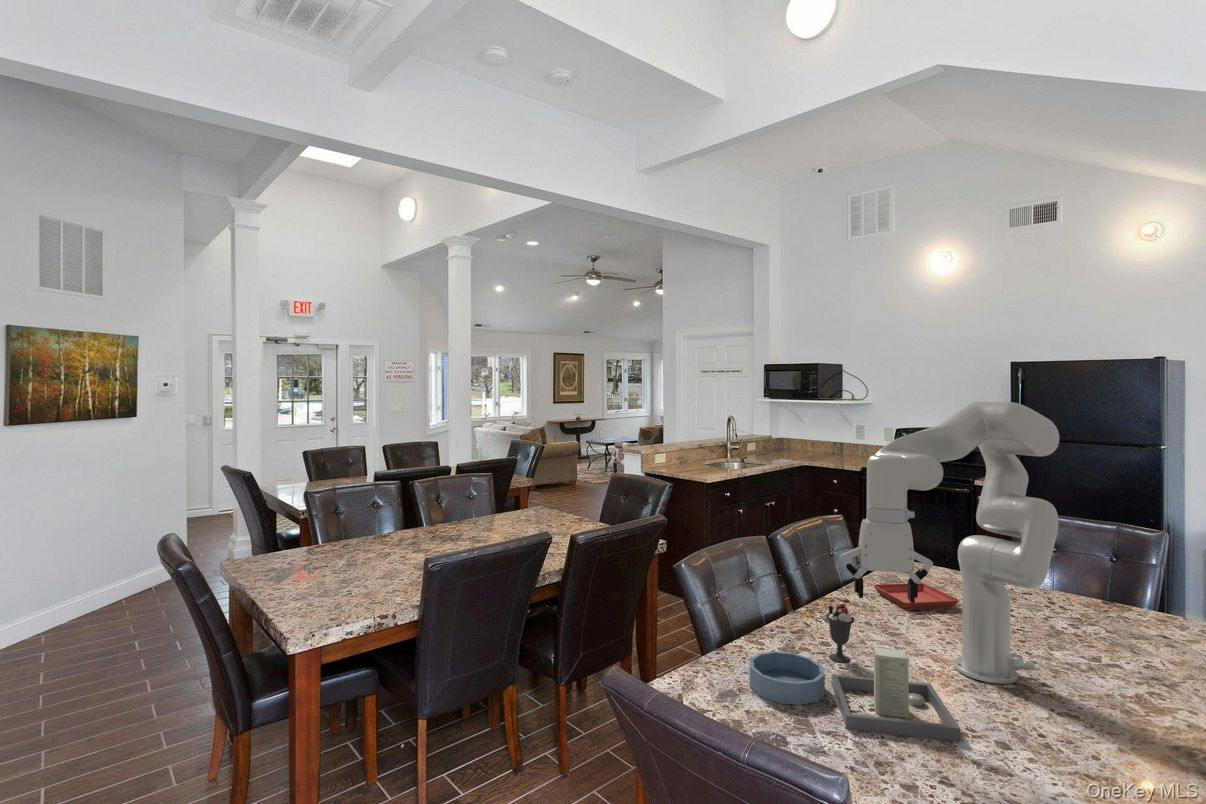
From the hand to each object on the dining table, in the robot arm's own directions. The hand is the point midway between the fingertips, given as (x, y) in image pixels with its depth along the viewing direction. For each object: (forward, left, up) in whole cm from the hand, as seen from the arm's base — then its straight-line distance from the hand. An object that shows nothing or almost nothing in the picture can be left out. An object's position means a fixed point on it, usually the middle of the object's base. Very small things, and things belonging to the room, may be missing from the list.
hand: (885, 598), depth 124 cm
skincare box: (-1, +1, -23) cm, 23 cm away
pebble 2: (-7, -4, -23) cm, 24 cm away
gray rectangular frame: (-1, +1, -23) cm, 23 cm away
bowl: (+19, -5, -23) cm, 30 cm away
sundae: (+5, -23, -23) cm, 33 cm away
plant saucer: (-25, -73, -23) cm, 81 cm away
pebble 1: (+5, +6, -23) cm, 24 cm away
